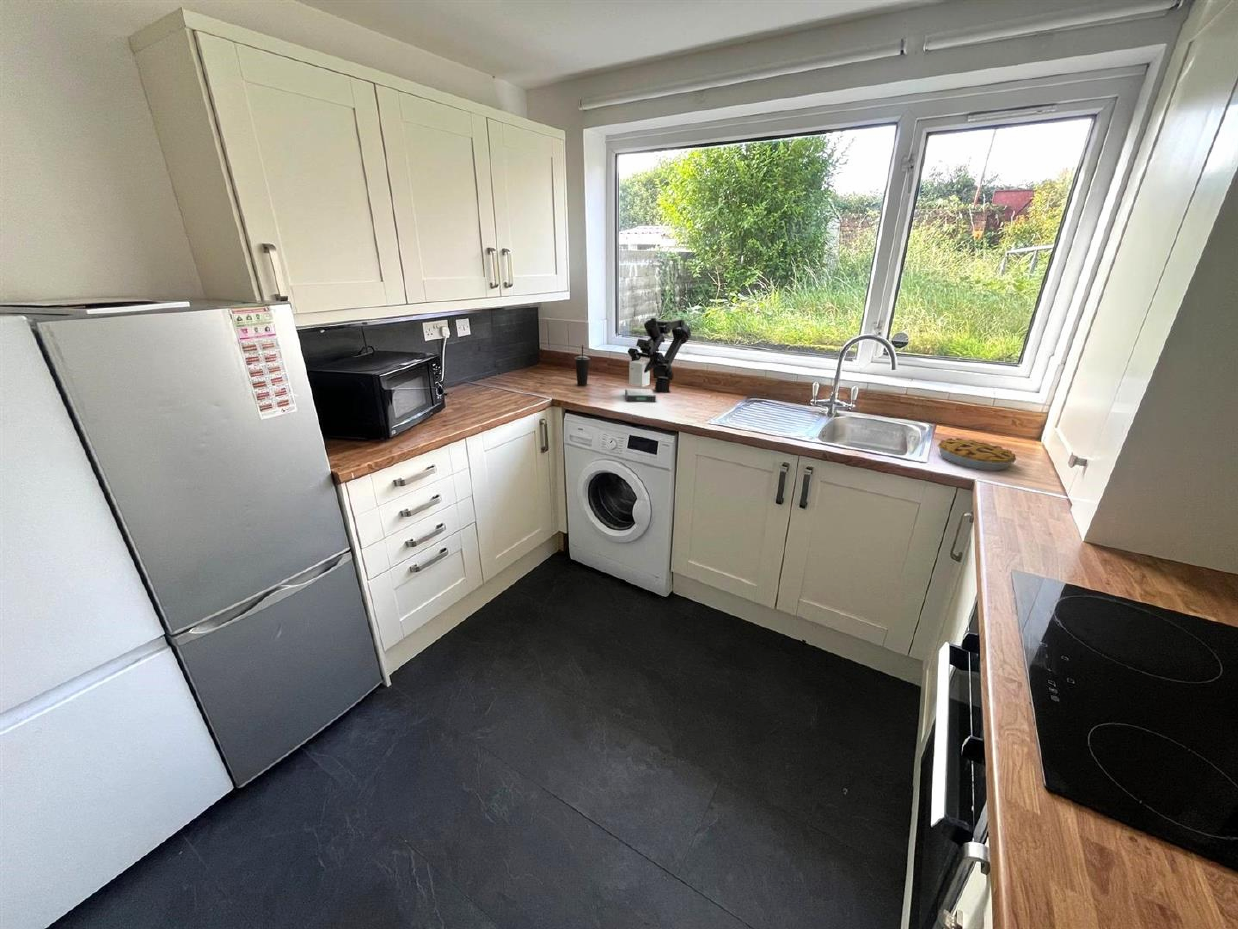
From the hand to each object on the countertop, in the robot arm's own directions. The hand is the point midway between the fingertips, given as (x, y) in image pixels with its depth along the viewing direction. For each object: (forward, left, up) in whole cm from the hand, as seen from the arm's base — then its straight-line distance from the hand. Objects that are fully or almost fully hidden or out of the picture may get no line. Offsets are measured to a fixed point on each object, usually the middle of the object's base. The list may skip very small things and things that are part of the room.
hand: (637, 370), depth 226 cm
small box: (-1, -1, -7) cm, 7 cm away
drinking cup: (+25, -27, -13) cm, 40 cm away
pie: (-106, +77, -13) cm, 132 cm away
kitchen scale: (-2, -1, -13) cm, 13 cm away
